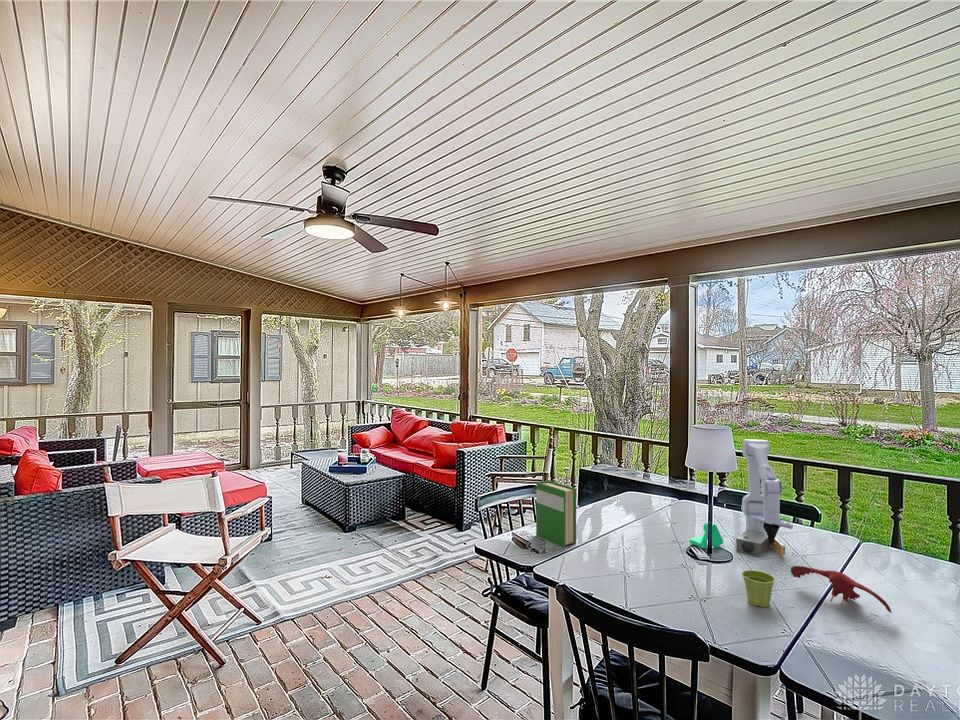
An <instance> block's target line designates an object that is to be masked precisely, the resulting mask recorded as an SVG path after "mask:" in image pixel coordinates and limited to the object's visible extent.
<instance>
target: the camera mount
mask: <svg viewBox="0 0 960 720" xmlns="http://www.w3.org/2000/svg"><path fill="white" fill-rule="evenodd" d="M702 529H703V532H704V534H703V535H700V536H696V537H692V538H691V537H690V538H689V544H691V545H694V546H697V547H699V548H700V549H701V548H702V549H707V548H706V547H707V539H708V521H706V522H705V523H704V524H703V527H702ZM720 545H721V546H722V545H724V539H723V537H722V534H721V533H720V531H719V528H718V526H717V525H716V524H714V523H712V546H713V547H714V548H713V549H716V548H715V547H717V548H718V546H720Z"/></svg>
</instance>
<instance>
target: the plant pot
mask: <svg viewBox="0 0 960 720" xmlns="http://www.w3.org/2000/svg"><path fill="white" fill-rule="evenodd" d="M741 576H742V577H743V580H744V585H745V591H746V597H747V602H748V603H749V604H751V605H753V606H758V607H760V608H767V607H769V606H770V604H771V598H772V591H773V586H774V583H775V582H776V578H775V577H774V575H771V574H770V573H767V572H764V571H760V570H752V569H748V570H743V571H742V572H741Z"/></svg>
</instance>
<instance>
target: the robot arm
mask: <svg viewBox="0 0 960 720" xmlns="http://www.w3.org/2000/svg"><path fill="white" fill-rule="evenodd" d="M741 444H742V445H741V446H742V447H741V448H742V456H743V457H745V458H746V460H747V481H748V493H747V494H745V495H744V496H743V497H742V500H741V511H742V514H744V515H745V531H746V530H748V529H749V530H754V531H758V532H763V533H767V536H768V539H769V543H772V544H773V543H774V541H775V538H777V537H776V536H777V534H778V532H779V529H780V528H785V529H789V530H793V529H794V523H792V522H788V521H785V520H782V519H780V518H781V517H780V516H781V512H780V506H781V503H780V502H781V501H780V497H781V496H780V495H781V494H782V493H783V486H782V485H783V484H782V482H781V480H780V479H779V478H778V477H777V476H776V473H775V471H774V468H773V467H772V466H771V465H770V464H769V459H768V455H769V452H770V450H771V449H770V442H769V441H768V440H767V439H747V438H744V439H743V441H742V443H741Z"/></svg>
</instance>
